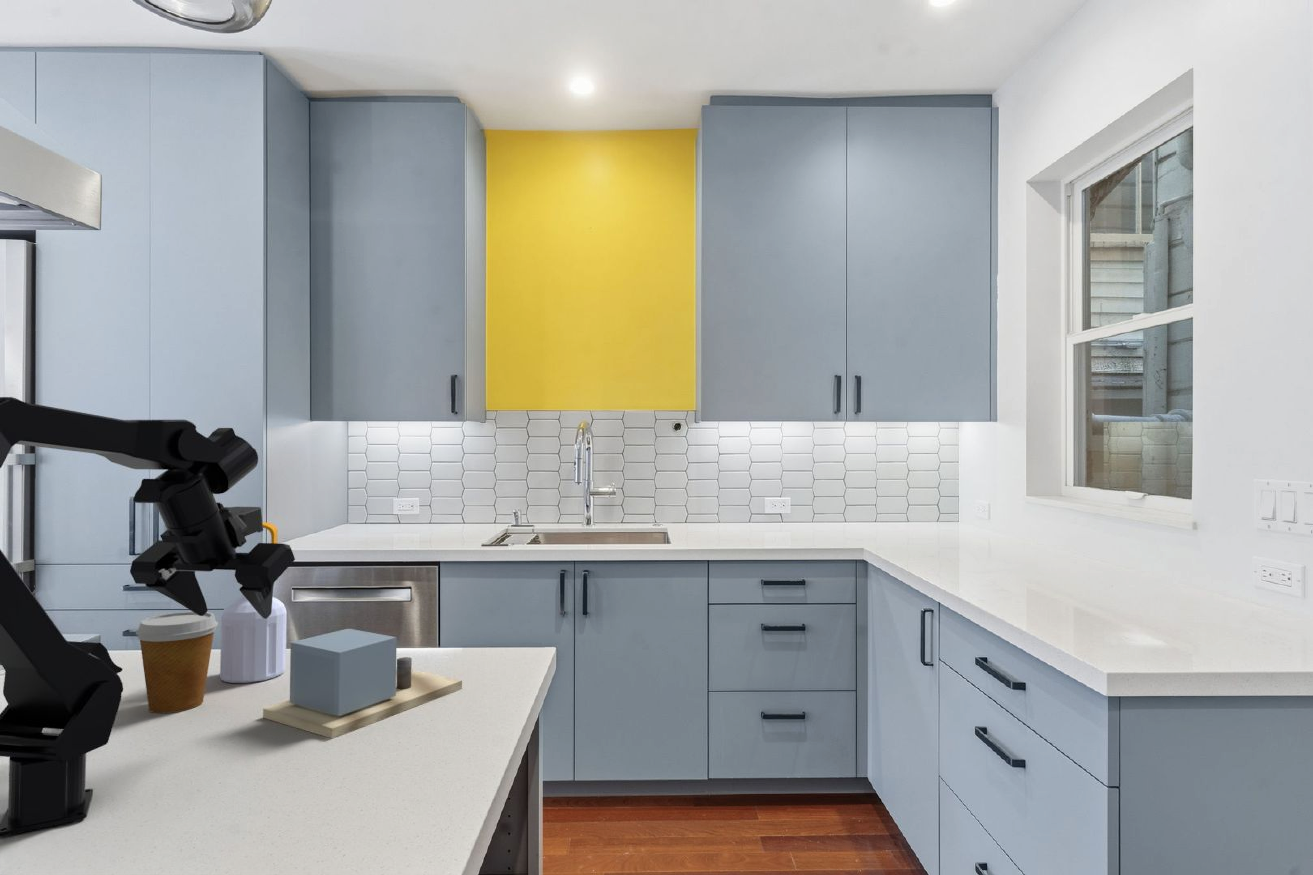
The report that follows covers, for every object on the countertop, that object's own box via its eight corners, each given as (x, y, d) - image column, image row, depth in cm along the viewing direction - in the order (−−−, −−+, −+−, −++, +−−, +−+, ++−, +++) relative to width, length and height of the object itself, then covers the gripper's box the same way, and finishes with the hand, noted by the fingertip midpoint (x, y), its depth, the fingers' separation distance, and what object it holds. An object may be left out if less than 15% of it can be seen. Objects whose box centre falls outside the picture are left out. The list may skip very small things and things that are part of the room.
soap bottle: (225, 670, 117) (228, 516, 118) (289, 664, 120) (291, 515, 121) (213, 686, 109) (216, 521, 109) (282, 680, 112) (284, 520, 113)
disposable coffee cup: (222, 691, 107) (224, 608, 107) (208, 712, 98) (210, 622, 98) (145, 698, 104) (147, 613, 104) (124, 721, 95) (126, 628, 95)
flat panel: (332, 738, 90) (333, 695, 90) (263, 717, 96) (263, 677, 96) (462, 688, 109) (462, 653, 109) (396, 674, 116) (396, 641, 116)
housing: (338, 716, 93) (339, 652, 93) (289, 702, 98) (290, 642, 98) (395, 695, 100) (396, 637, 101) (347, 684, 105) (348, 628, 106)
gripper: (300, 480, 93) (334, 577, 101) (170, 479, 96) (212, 573, 104) (245, 531, 84) (287, 634, 91) (103, 528, 87) (155, 628, 94)
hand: (235, 614), depth 95 cm, fingers open, 9 cm apart
